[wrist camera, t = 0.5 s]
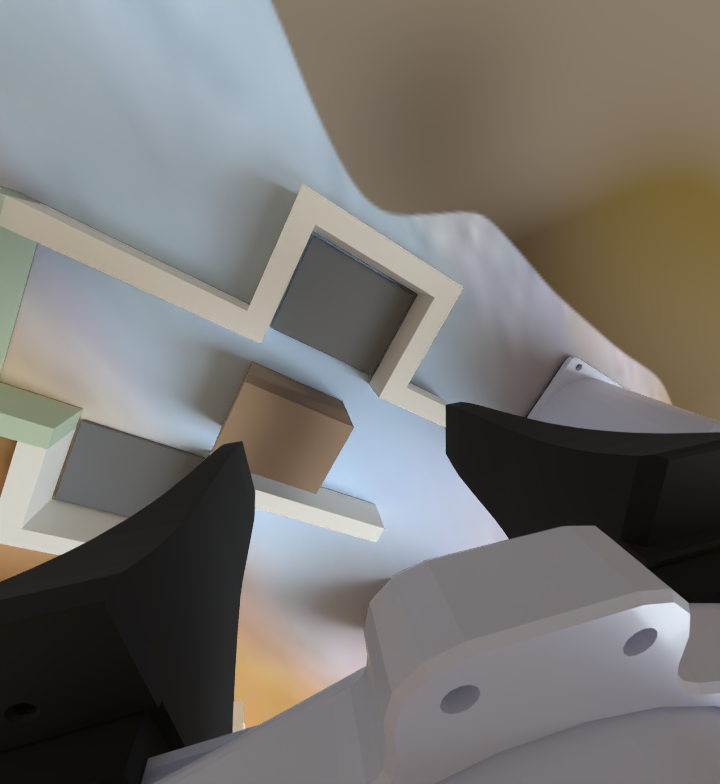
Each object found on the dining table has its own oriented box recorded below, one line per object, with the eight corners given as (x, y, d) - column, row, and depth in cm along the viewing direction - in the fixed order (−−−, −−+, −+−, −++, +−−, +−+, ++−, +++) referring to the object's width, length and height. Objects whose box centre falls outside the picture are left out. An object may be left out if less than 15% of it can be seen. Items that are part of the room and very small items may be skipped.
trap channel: (489, 314, 22) (517, 320, 19) (330, 579, 26) (335, 613, 24) (54, 39, 14) (0, -15, 11) (-62, 490, 18) (-118, 526, 16)
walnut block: (342, 400, 22) (353, 427, 18) (311, 457, 23) (316, 494, 19) (252, 360, 20) (245, 381, 16) (222, 425, 21) (208, 459, 17)
